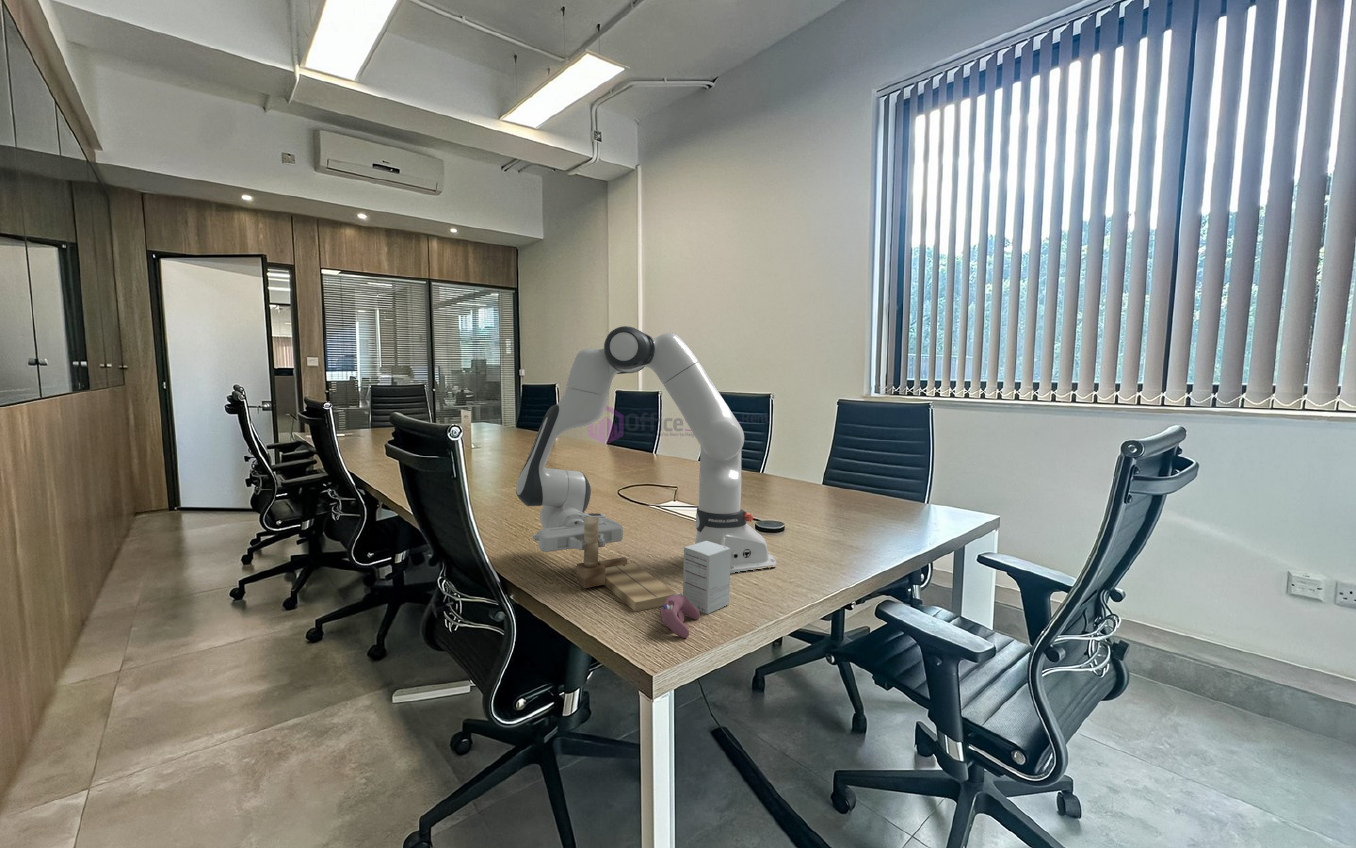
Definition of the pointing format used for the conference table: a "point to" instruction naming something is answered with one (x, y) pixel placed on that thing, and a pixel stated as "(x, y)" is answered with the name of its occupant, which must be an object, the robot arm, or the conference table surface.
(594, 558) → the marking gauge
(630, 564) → the board
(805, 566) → the conference table surface
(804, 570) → the conference table surface
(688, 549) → the supplement box
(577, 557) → the conference table surface
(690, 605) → the video game controller
